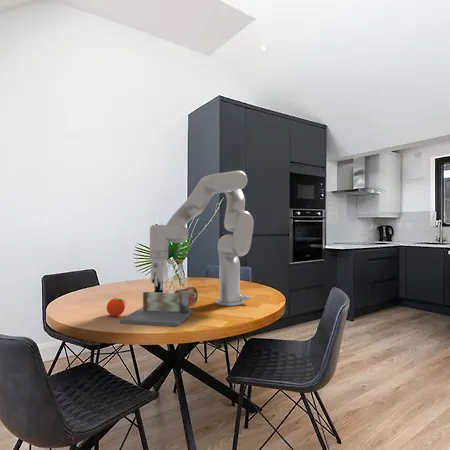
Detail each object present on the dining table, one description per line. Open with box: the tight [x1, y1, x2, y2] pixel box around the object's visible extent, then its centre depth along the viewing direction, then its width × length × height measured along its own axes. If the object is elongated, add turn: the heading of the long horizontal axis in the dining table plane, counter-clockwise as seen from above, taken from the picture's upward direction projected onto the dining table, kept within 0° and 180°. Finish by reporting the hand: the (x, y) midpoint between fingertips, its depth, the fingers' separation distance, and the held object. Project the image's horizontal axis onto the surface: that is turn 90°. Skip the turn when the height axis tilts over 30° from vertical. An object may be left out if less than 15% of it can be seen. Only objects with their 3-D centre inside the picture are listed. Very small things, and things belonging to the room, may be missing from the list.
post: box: [181, 291, 189, 314], centre depth 131 cm, size 3×3×10 cm
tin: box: [173, 286, 198, 309], centre depth 146 cm, size 15×3×8 cm, turn 148°
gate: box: [142, 291, 180, 312], centre depth 133 cm, size 15×2×7 cm, turn 80°
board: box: [119, 306, 194, 327], centre depth 128 cm, size 22×19×1 cm
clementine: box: [106, 297, 127, 317], centre depth 131 cm, size 8×7×7 cm
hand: (158, 299), depth 136 cm, fingers closed
